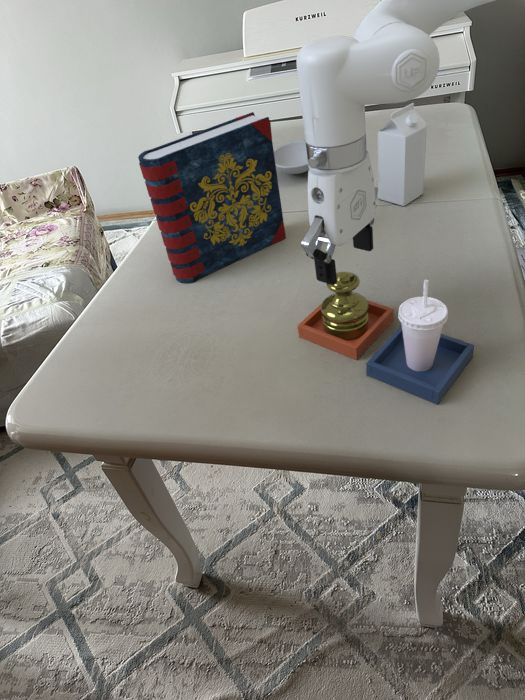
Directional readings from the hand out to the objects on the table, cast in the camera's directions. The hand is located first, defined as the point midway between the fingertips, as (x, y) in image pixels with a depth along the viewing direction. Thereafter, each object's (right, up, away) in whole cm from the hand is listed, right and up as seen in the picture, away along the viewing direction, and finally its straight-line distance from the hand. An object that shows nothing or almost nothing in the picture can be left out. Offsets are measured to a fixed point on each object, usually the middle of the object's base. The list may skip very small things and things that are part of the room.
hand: (345, 264), depth 77 cm
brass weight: (+1, -9, +7) cm, 12 cm away
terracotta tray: (+1, -9, +8) cm, 12 cm away
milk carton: (+19, +22, +39) cm, 49 cm away
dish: (-3, +34, +58) cm, 68 cm away
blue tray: (+11, -15, -1) cm, 18 cm away
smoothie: (+11, -15, -1) cm, 18 cm away
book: (-19, +7, +31) cm, 37 cm away
